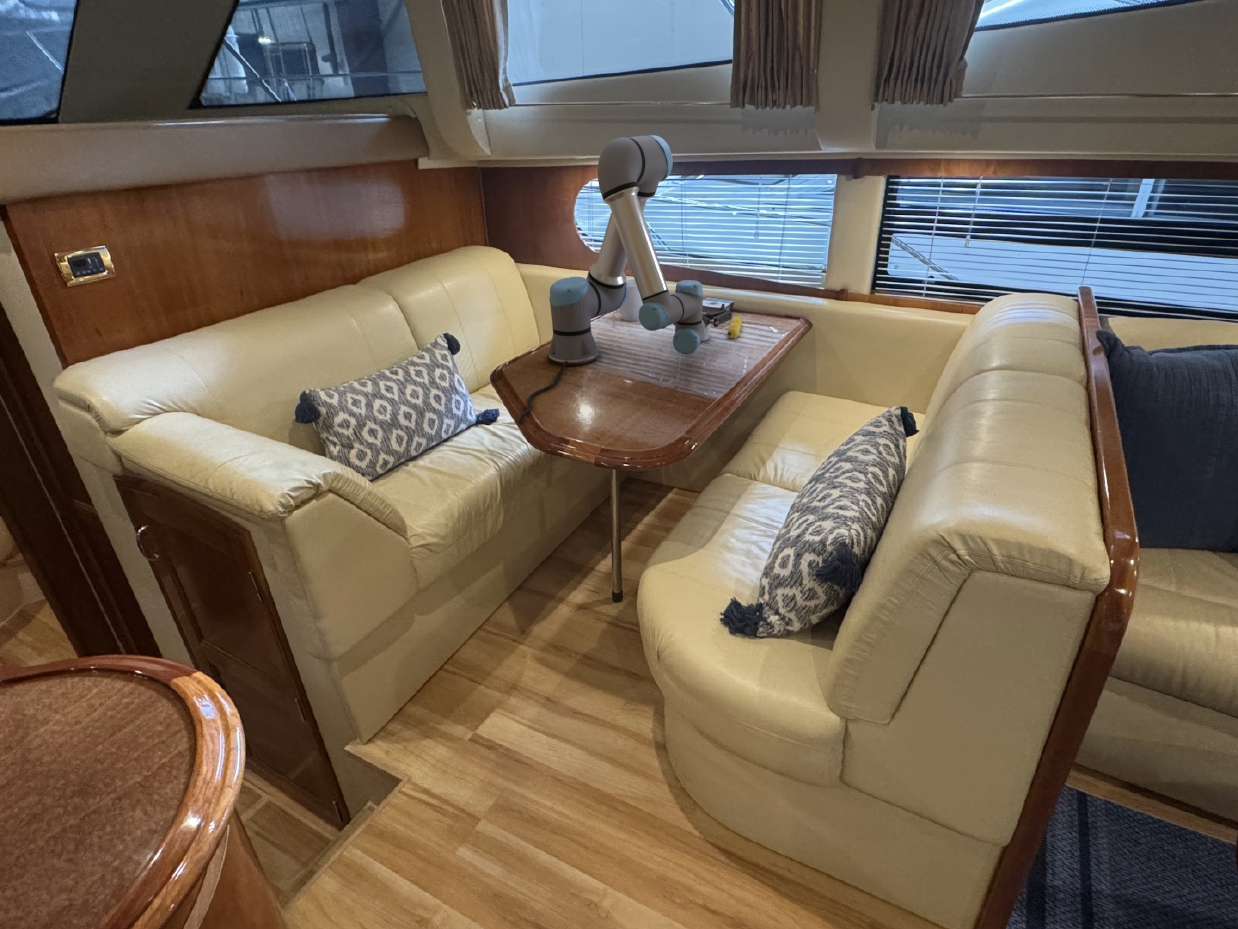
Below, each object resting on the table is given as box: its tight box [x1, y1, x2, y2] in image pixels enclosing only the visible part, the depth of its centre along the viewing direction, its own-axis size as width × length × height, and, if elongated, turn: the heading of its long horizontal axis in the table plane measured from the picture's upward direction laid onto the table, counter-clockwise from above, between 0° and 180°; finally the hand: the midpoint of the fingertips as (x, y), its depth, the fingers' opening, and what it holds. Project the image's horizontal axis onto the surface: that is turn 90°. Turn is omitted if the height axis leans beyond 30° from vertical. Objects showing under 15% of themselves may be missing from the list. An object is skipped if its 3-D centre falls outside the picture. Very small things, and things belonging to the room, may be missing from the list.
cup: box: [701, 311, 712, 342], centre depth 215 cm, size 11×8×8 cm
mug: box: [615, 277, 643, 322], centre depth 237 cm, size 15×11×13 cm
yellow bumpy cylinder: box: [726, 315, 743, 339], centre depth 221 cm, size 17×4×4 cm, turn 166°
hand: (702, 306), depth 216 cm, fingers open, 13 cm apart
